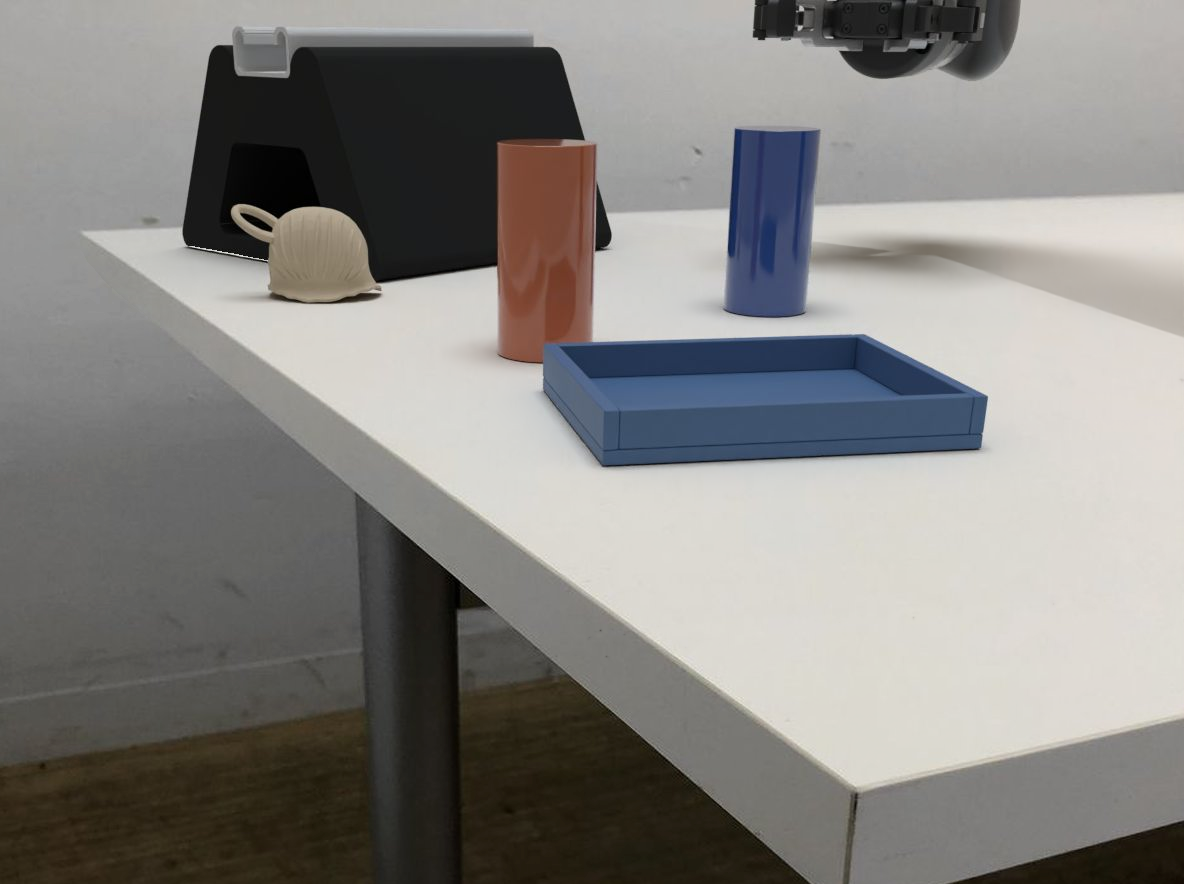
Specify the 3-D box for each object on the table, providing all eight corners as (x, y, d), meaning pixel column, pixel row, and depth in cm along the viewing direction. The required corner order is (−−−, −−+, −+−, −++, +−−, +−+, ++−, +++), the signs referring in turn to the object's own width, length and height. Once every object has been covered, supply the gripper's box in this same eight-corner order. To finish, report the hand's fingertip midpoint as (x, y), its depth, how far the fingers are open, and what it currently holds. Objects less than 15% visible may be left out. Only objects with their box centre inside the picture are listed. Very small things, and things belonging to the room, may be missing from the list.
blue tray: (860, 378, 65) (865, 333, 65) (981, 448, 54) (989, 395, 54) (542, 389, 63) (543, 343, 62) (602, 466, 52) (604, 410, 51)
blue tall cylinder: (789, 301, 84) (803, 125, 80) (818, 315, 80) (834, 130, 76) (713, 303, 83) (723, 125, 79) (738, 317, 79) (749, 131, 75)
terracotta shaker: (581, 341, 73) (585, 138, 69) (602, 361, 68) (607, 146, 64) (491, 344, 72) (489, 139, 68) (505, 364, 68) (505, 146, 64)
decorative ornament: (370, 304, 82) (367, 210, 80) (232, 300, 83) (225, 207, 81) (384, 292, 86) (381, 202, 84) (252, 289, 86) (245, 199, 84)
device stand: (611, 248, 104) (617, 30, 98) (380, 283, 89) (371, 27, 83) (411, 221, 118) (406, 28, 112) (183, 246, 103) (163, 26, 97)
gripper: (808, -39, 99) (732, -50, 86) (1013, -41, 94) (966, -52, 80) (799, 74, 102) (724, 81, 89) (997, 80, 97) (949, 87, 83)
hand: (839, 18), depth 85 cm, fingers open, 8 cm apart
